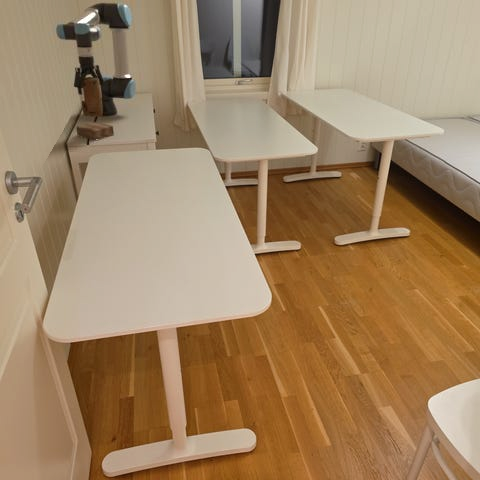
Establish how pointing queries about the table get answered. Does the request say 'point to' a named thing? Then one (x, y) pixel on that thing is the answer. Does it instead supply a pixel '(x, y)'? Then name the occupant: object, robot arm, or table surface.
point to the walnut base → (95, 130)
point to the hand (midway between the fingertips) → (91, 98)
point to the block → (92, 97)
